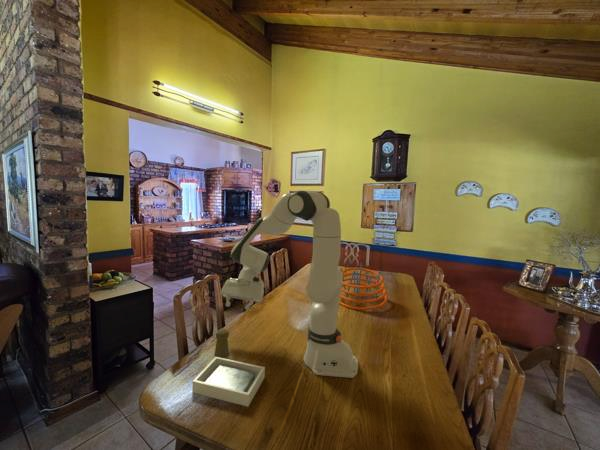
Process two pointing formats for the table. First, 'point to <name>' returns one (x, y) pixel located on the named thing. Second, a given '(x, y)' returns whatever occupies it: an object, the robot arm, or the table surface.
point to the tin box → (232, 378)
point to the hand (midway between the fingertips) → (236, 307)
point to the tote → (224, 392)
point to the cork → (222, 343)
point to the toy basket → (366, 286)
